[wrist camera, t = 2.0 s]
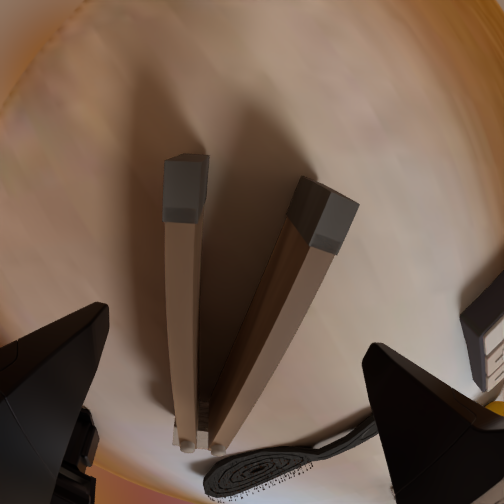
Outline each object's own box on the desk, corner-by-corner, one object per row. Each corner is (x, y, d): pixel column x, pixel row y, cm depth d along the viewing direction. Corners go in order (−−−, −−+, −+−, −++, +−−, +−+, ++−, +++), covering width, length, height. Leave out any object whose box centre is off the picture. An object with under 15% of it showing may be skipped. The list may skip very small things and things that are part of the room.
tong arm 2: (183, 398, 22) (178, 452, 17) (183, 153, 15) (161, 161, 10) (200, 399, 22) (197, 454, 17) (209, 154, 15) (200, 163, 10)
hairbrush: (415, 430, 25) (229, 509, 27) (401, 409, 28) (227, 487, 30) (405, 399, 22) (186, 491, 24) (388, 375, 25) (187, 467, 27)
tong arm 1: (207, 400, 22) (206, 455, 17) (301, 175, 16) (335, 194, 11) (224, 403, 22) (225, 458, 17) (323, 184, 16) (364, 207, 11)
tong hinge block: (175, 416, 23) (172, 444, 20) (177, 397, 22) (173, 427, 19) (223, 423, 24) (224, 451, 21) (229, 404, 23) (230, 434, 20)
